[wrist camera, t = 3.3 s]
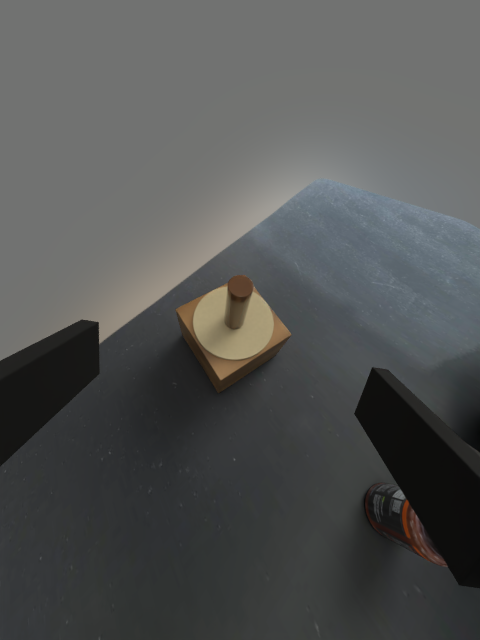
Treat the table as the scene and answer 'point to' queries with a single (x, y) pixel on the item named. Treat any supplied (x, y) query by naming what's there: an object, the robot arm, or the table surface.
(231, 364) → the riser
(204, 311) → the lid
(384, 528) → the supplement bottle
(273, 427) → the table surface
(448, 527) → the robot arm
